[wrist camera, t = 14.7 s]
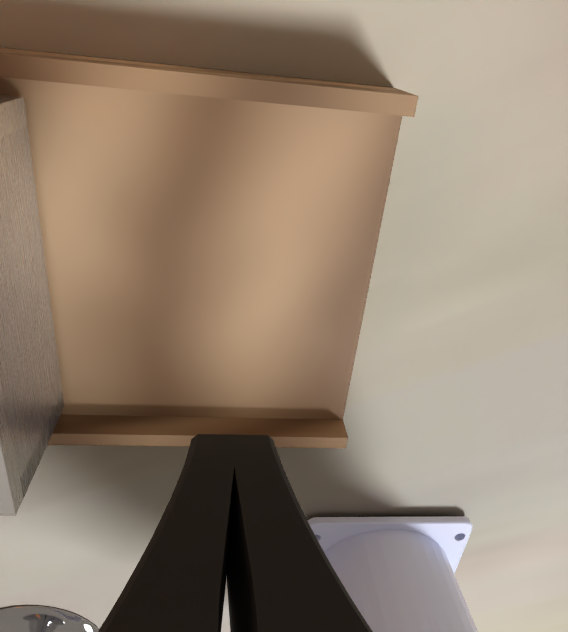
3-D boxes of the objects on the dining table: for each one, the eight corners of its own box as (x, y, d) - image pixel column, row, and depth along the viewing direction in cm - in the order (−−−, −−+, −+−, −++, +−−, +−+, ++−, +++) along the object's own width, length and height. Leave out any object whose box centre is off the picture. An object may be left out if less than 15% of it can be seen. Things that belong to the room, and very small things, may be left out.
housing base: (394, 87, 15) (424, 98, 13) (335, 409, 21) (348, 458, 18) (-345, 12, 13) (-476, 6, 10) (-184, 398, 18) (-245, 452, 16)
